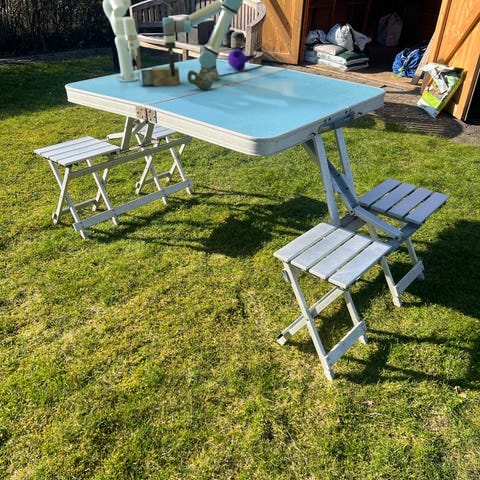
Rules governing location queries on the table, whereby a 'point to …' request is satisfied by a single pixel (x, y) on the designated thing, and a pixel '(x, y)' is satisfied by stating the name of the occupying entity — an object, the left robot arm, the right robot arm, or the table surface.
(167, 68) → the cabinet
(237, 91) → the table surface
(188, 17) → the right robot arm
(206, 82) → the teapot
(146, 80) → the drawer
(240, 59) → the toy
